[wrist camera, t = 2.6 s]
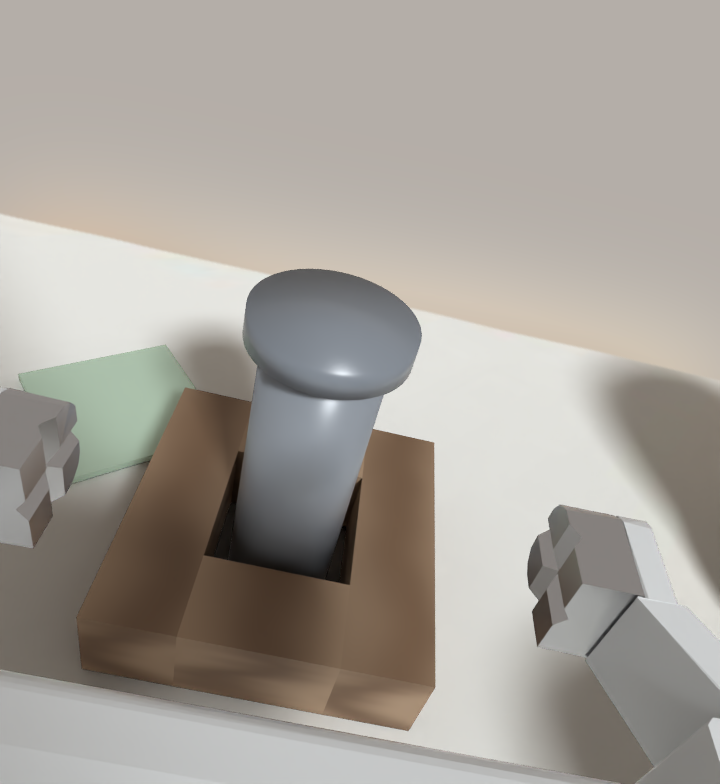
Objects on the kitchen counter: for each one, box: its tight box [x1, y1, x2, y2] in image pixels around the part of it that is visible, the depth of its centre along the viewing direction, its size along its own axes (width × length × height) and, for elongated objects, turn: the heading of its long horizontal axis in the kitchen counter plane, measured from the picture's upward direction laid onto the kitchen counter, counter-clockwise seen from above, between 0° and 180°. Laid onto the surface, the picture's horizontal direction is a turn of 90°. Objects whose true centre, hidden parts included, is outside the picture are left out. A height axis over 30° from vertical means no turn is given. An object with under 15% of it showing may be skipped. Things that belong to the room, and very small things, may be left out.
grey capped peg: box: [228, 269, 422, 580], centre depth 28 cm, size 6×6×15 cm
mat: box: [18, 345, 196, 483], centre depth 39 cm, size 9×9×1 cm
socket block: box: [76, 387, 435, 731], centre depth 32 cm, size 14×14×4 cm
